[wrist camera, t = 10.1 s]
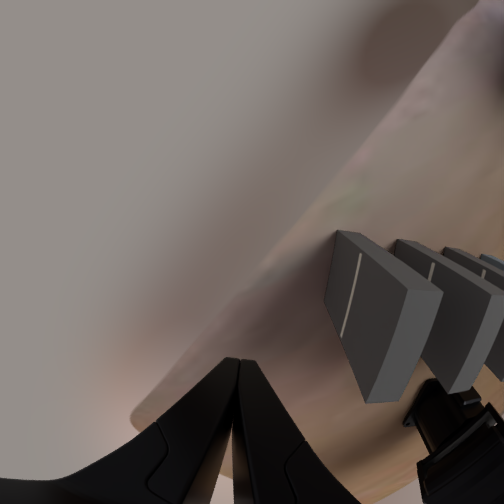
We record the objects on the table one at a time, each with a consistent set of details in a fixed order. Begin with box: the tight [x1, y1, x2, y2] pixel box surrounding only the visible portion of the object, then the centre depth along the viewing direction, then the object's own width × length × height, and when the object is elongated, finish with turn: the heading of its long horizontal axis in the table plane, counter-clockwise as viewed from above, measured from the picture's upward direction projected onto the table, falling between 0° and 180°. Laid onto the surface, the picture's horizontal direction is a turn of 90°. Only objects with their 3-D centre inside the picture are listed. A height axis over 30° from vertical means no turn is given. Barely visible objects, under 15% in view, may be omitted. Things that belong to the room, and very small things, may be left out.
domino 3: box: [443, 247, 504, 382], centre depth 13 cm, size 5×2×10 cm, turn 174°
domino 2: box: [394, 239, 504, 394], centre depth 14 cm, size 5×2×10 cm, turn 174°
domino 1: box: [324, 230, 444, 404], centre depth 14 cm, size 5×2×10 cm, turn 174°
